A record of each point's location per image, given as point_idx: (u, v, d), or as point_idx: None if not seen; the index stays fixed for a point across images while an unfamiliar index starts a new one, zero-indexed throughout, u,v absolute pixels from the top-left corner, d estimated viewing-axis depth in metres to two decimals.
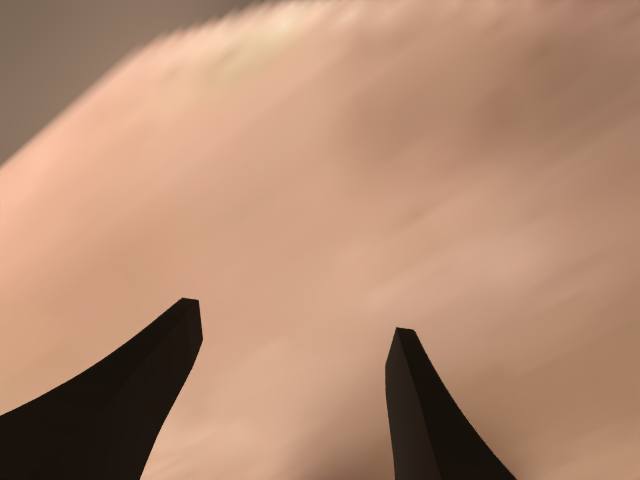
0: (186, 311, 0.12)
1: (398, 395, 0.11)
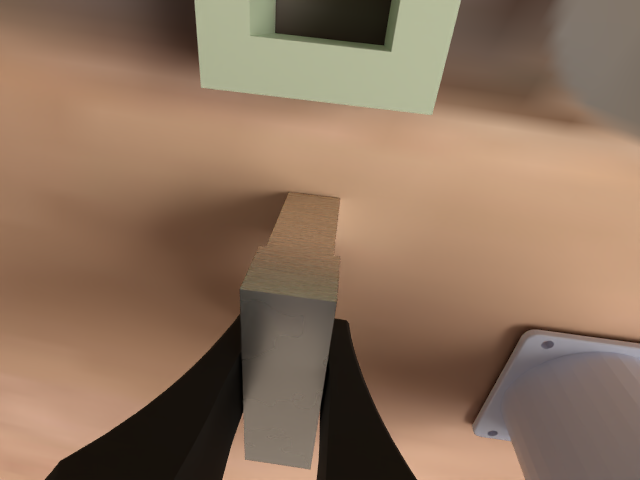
0: None
1: (324, 385, 0.11)
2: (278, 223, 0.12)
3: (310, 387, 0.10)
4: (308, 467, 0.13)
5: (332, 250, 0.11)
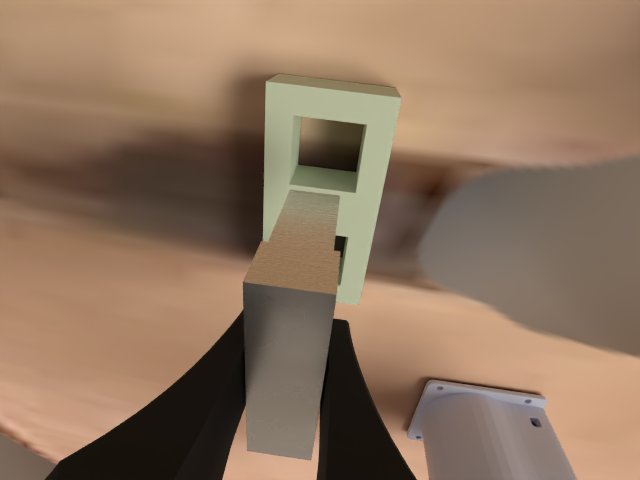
0: None
1: (324, 385, 0.11)
2: (279, 219, 0.12)
3: (311, 379, 0.11)
4: (309, 458, 0.13)
5: (332, 245, 0.11)
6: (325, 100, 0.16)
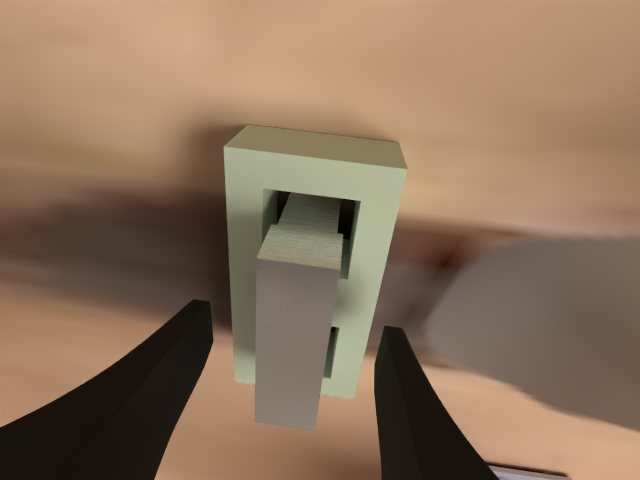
0: (198, 313, 0.12)
1: (385, 394, 0.11)
2: (287, 206, 0.13)
3: (315, 350, 0.12)
4: (312, 428, 0.14)
5: (336, 229, 0.12)
6: (304, 171, 0.12)
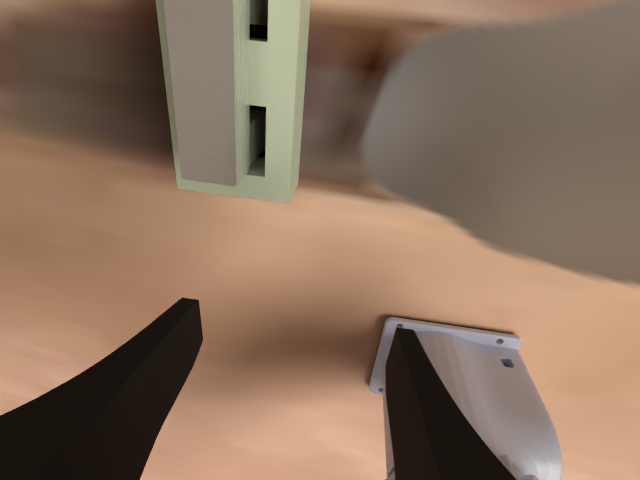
0: (186, 311, 0.12)
1: (398, 395, 0.11)
2: None
3: (223, 66, 0.13)
4: (234, 184, 0.15)
5: None
6: None
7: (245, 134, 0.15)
